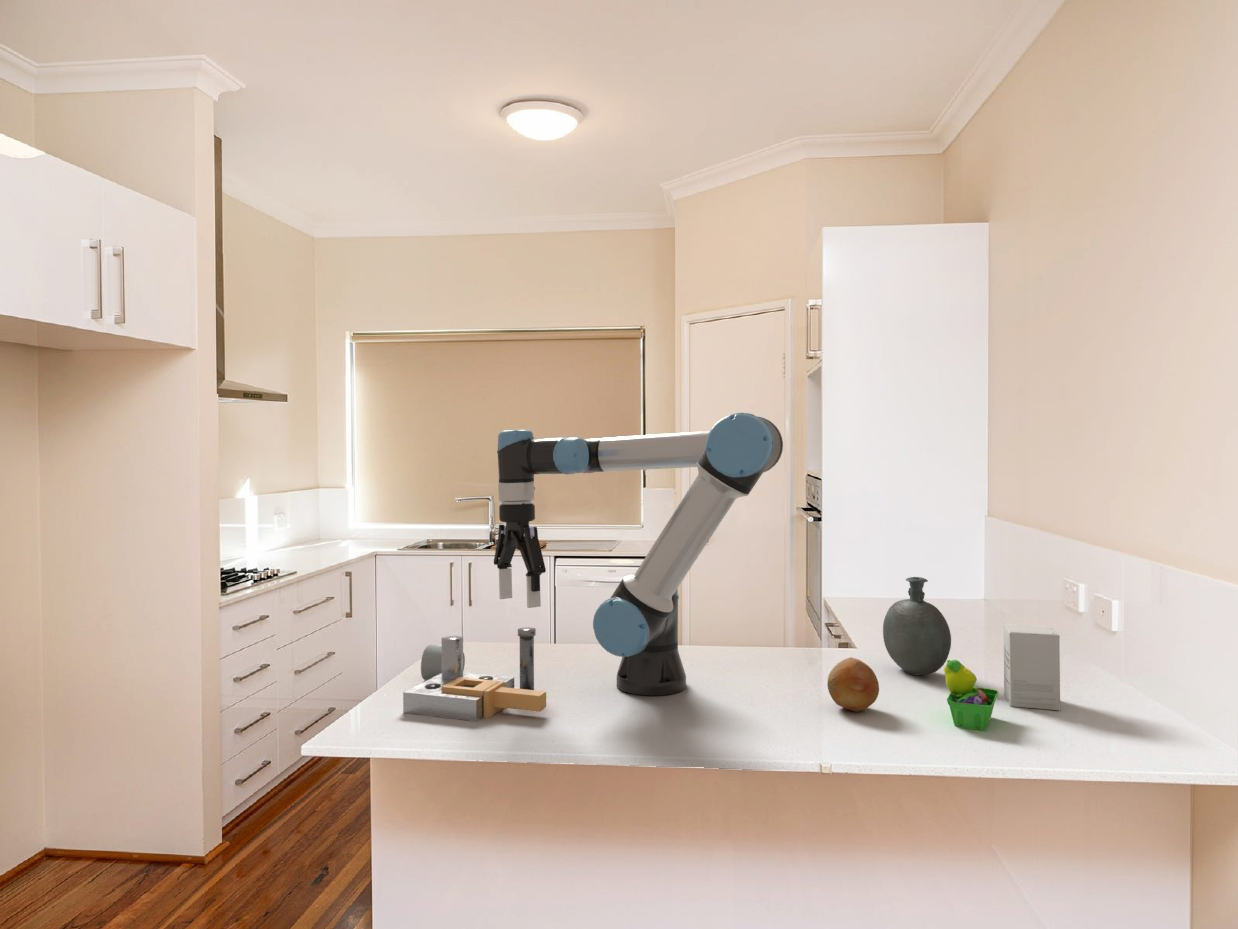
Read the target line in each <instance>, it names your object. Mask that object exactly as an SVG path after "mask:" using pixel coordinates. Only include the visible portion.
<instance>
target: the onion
mask: <svg viewBox="0 0 1238 929" xmlns="http://www.w3.org/2000/svg"><path fill="white" fill-rule="evenodd" d="M827 690H828V693H829V695H830V697H831V699H832V700H833V702H834V703H835V704H836V705H837V706H839V707H841V708H843V709H846V710H849V711H852V712H855V713H857V712H858V713H859V712H862V711H864V710H866V709H868V708H869V707H870V706H872V705H873V704H874V703H875V702H876V701H877V698H878V696H879V692H880V684H879V680H878V677H877V675H876V673H875V671H874V670H873V669H872V668H871V666H869V665H868V664H867V663H865V662H863V661H862V660H861V659H859V658H855V657H848V658H845V659H842V660H841V661H839V662H837V663H836V665H834V666H833V668H832V669H831V670H830V672H829V674H828V676H827Z"/></svg>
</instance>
